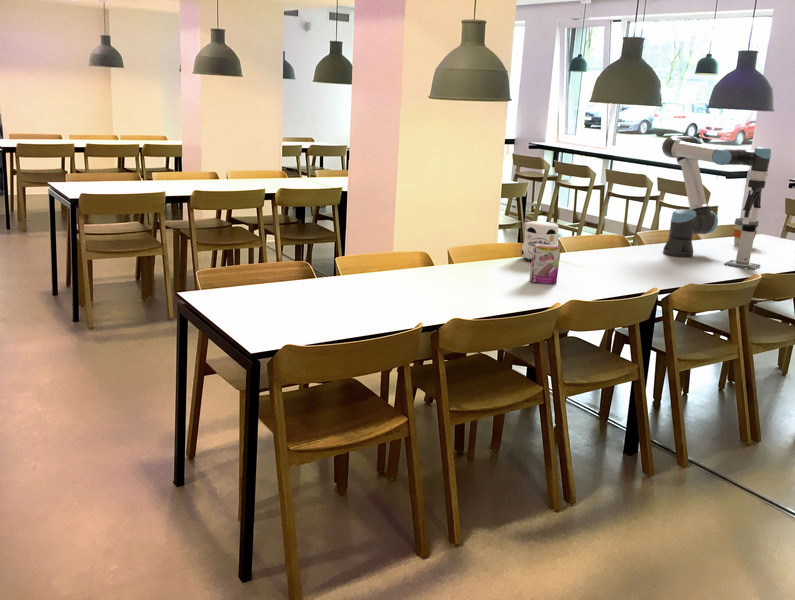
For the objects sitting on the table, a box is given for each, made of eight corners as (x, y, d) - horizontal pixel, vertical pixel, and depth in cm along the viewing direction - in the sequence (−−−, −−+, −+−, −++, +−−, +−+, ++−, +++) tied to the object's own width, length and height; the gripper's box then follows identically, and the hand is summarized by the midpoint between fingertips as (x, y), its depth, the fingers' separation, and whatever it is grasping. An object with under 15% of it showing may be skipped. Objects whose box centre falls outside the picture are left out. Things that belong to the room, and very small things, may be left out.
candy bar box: (531, 283, 328) (535, 246, 323) (528, 280, 332) (532, 243, 328) (557, 284, 328) (561, 247, 324) (554, 281, 333) (558, 244, 328)
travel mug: (747, 265, 382) (755, 226, 376) (734, 263, 385) (741, 223, 380) (750, 263, 386) (758, 224, 381) (737, 261, 390) (744, 222, 385)
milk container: (532, 265, 362) (536, 227, 357) (514, 257, 378) (517, 221, 373) (563, 263, 369) (567, 227, 364) (544, 256, 384) (547, 220, 379)
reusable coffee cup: (725, 243, 444) (730, 218, 440) (743, 243, 448) (748, 218, 444) (741, 248, 433) (745, 222, 429) (759, 248, 437) (764, 222, 432)
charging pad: (724, 265, 386) (724, 262, 386) (731, 261, 395) (731, 259, 395) (753, 270, 378) (753, 267, 377) (760, 266, 387) (760, 264, 386)
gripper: (758, 182, 363) (750, 226, 369) (772, 178, 382) (764, 220, 388) (742, 180, 367) (734, 223, 373) (756, 177, 386) (748, 218, 392)
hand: (749, 222), depth 381 cm, fingers open, 13 cm apart
